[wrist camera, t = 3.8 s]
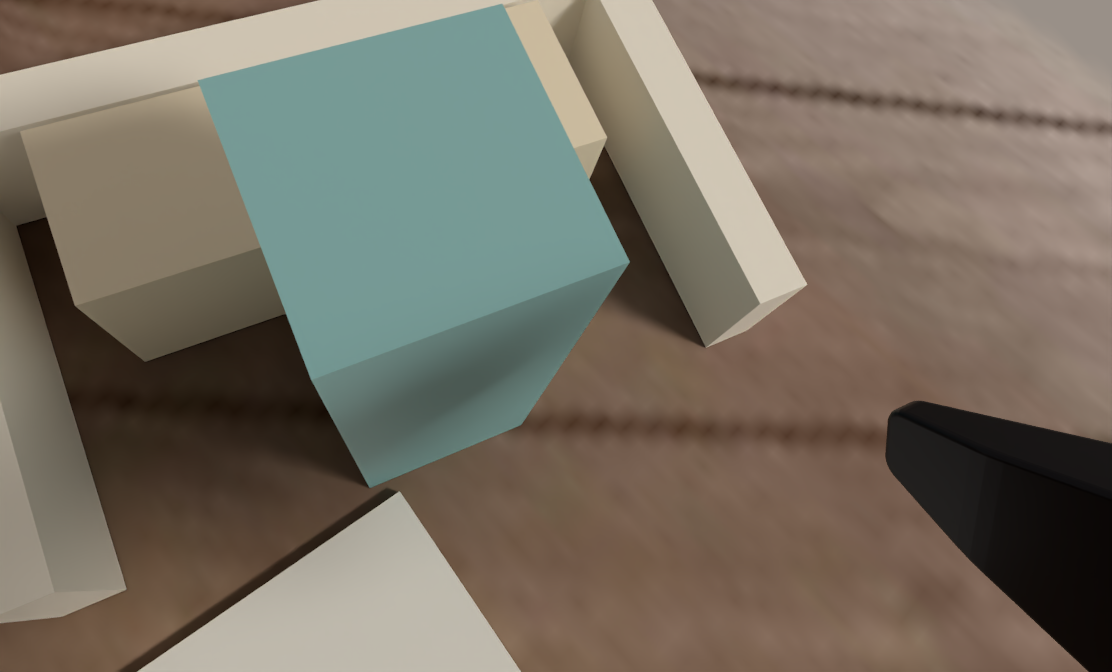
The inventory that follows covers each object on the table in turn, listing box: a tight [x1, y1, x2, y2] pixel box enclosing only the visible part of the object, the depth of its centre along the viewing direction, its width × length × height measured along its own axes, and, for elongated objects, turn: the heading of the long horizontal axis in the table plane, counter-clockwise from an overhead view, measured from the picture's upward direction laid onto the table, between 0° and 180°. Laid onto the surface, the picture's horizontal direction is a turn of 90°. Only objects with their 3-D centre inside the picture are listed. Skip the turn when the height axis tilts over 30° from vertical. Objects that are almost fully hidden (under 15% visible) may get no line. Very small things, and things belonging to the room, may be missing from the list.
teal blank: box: [198, 4, 630, 488], centre depth 16 cm, size 4×4×12 cm
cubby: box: [0, 0, 807, 623], centre depth 20 cm, size 12×20×4 cm, turn 114°
